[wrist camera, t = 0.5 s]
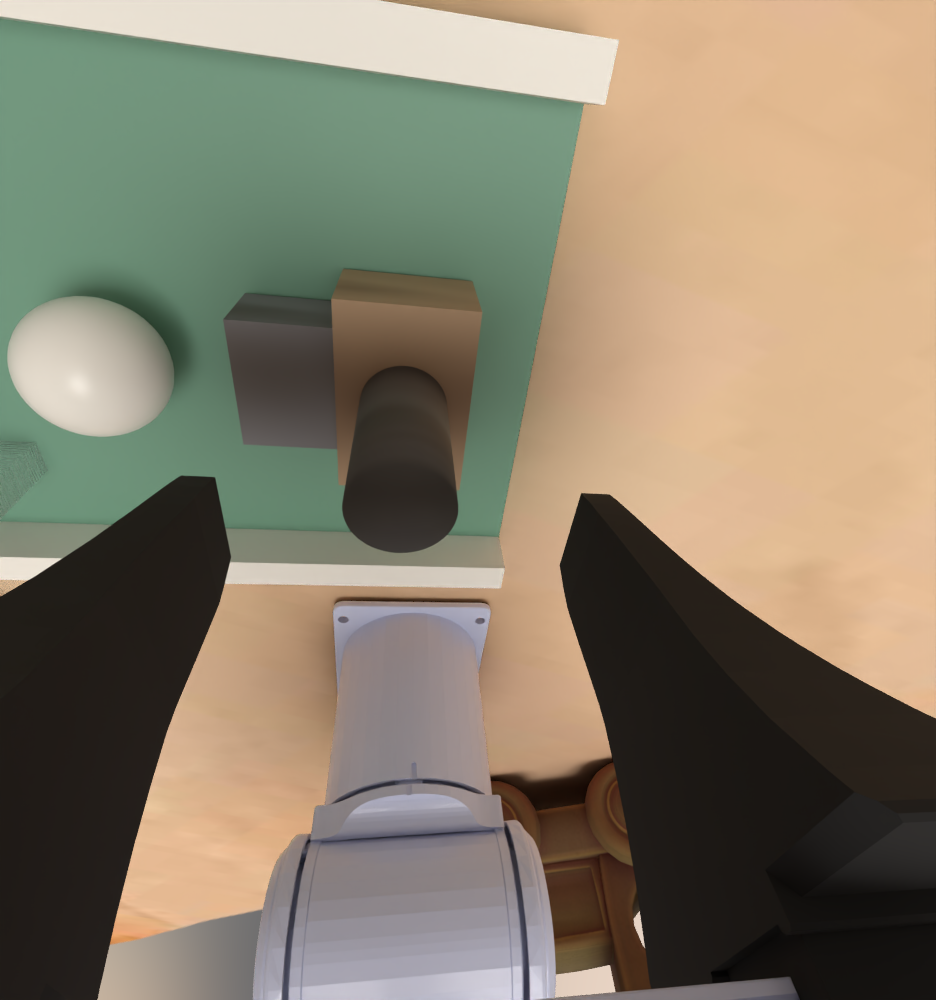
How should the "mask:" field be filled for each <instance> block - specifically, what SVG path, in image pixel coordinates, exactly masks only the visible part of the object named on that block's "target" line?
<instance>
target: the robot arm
mask: <svg viewBox="0 0 936 1000" xmlns="http://www.w3.org/2000/svg"><path fill="white" fill-rule="evenodd" d="M230 560H231V553H230V548H229V543H228V538H227V533H226V528H225V523H224V519H223V514H222V509H221V504H220V499H219V494H218V489H217V484H216V479H215V477H205V476H183V475H181V476H179V477H178V478H176V479H175V480H173V481H172V482H170V483H169V484H167V485H166V486H165V487H163V488H162V489H160V490H159V491H158V492H156V493H155V494H154V495H152V496H151V497H149V498H148V499H147V500H145V501H144V502H143V503H141V504H140V505H139V506H137V507H136V508H134V509H133V510H132V511H130V512H129V513H128V514H126V515H125V516H123V517H122V518H121V519H119V520H118V521H116V522H115V523H114V524H112V525H111V526H109V527H108V528H107V529H105V530H104V531H102V532H101V533H100V534H98V535H97V536H95V537H94V538H93V539H91V540H90V541H88V542H87V543H85V544H84V545H82V546H81V547H79V548H78V549H76V550H74V551H73V552H71V553H70V554H68V555H67V556H65V557H64V558H62V559H61V560H59V561H58V562H56V563H55V564H53V565H51V566H50V567H48V568H47V569H45V570H44V571H42V572H41V573H39V574H38V575H36V576H35V577H33V578H31V579H30V580H28V581H26V582H25V583H23V584H21V585H20V586H18V587H16V588H15V589H13V590H11V591H10V592H8V593H6V594H4V595H3V596H1V597H0V1000H97V999H98V994H99V988H100V984H101V980H102V976H103V972H104V967H105V963H106V958H107V954H108V950H109V945H110V941H111V936H112V932H113V928H114V923H115V919H116V914H117V910H118V906H119V902H120V899H121V895H122V891H123V887H124V883H125V879H126V875H127V871H128V867H129V863H130V859H131V855H132V851H133V847H134V843H135V840H136V836H137V833H138V829H139V825H140V822H141V818H142V815H143V811H144V807H145V804H146V800H147V797H148V793H149V789H150V786H151V783H152V779H153V776H154V773H155V769H156V766H157V763H158V759H159V756H160V753H161V749H162V746H163V743H164V739H165V736H166V733H167V730H168V727H169V725H170V722H171V719H172V716H173V714H174V711H175V708H176V706H177V704H178V701H179V699H180V696H181V694H182V692H183V689H184V687H185V684H186V682H187V680H188V677H189V675H190V673H191V670H192V668H193V665H194V663H195V661H196V658H197V656H198V654H199V651H200V649H201V646H202V644H203V642H204V639H205V637H206V635H207V632H208V630H209V627H210V625H211V622H212V620H213V618H214V615H215V613H216V610H217V608H218V605H219V602H220V599H221V595H222V592H223V588H224V584H225V581H226V577H227V572H228V568H229V564H230ZM560 570H561V575H562V581H563V587H564V593H565V598H566V603H567V608H568V611H569V614H570V617H571V620H572V624H573V627H574V630H575V633H576V636H577V639H578V642H579V645H580V648H581V651H582V654H583V657H584V660H585V663H586V666H587V669H588V672H589V675H590V678H591V681H592V684H593V687H594V690H595V693H596V696H597V699H598V702H599V705H600V709H601V713H602V716H603V720H604V723H605V727H606V732H607V736H608V741H609V745H610V750H611V754H612V759H613V763H614V768H615V772H616V777H617V782H618V787H619V793H620V798H621V803H622V808H623V813H624V818H625V823H626V829H627V835H628V840H629V846H630V852H631V858H632V864H633V870H634V875H635V881H636V888H637V895H638V902H639V909H640V915H641V922H642V928H643V936H644V943H645V951H646V959H647V967H648V975H649V982H650V986H651V989H648V990H636V991H625V992H615V993H603V994H592V995H580V996H570V997H559V998H555V985H556V964H555V946H554V934H553V925H552V916H551V909H550V902H549V896H548V890H547V884H546V879H545V874H544V870H543V865H542V862H541V858H540V854H539V851H538V848H537V846H536V843H535V841H534V840H533V838H532V837H531V836H530V835H529V834H528V833H527V832H526V831H525V830H524V828H523V826H522V825H521V823H520V822H518V821H517V820H509V821H504V820H503V812H502V804H501V797H500V796H499V795H492V789H491V781H490V772H489V763H488V754H487V746H486V737H485V728H484V720H483V711H482V702H481V693H480V685H479V676H478V673H479V668H480V663H481V658H482V654H483V649H484V644H485V639H486V635H487V630H488V625H489V620H490V615H491V611H490V607H489V605H487V604H486V603H456V602H383V601H340V602H337V603H336V604H335V605H334V608H333V623H334V640H335V657H336V675H337V692H338V699H337V708H336V716H335V724H334V732H333V740H332V748H331V757H330V765H329V773H328V781H327V789H326V797H325V805H320V806H316V807H315V810H314V817H313V824H312V832H311V834H298V835H296V836H295V837H294V838H293V839H292V841H291V842H290V844H289V846H288V847H287V848H286V849H285V850H284V851H283V852H282V854H281V855H280V856H279V858H278V859H277V861H276V864H275V866H274V869H273V871H272V874H271V878H270V881H269V885H268V889H267V893H266V897H265V902H264V907H263V912H262V917H261V923H260V930H259V937H258V943H257V951H256V960H255V971H254V985H253V1000H936V718H933V717H931V716H929V715H927V714H925V713H923V712H921V711H919V710H917V709H915V708H913V707H911V706H909V705H907V704H905V703H903V702H901V701H899V700H897V699H895V698H893V697H891V696H889V695H887V694H885V693H883V692H882V691H880V690H878V689H876V688H874V687H872V686H870V685H868V684H866V683H864V682H863V681H861V680H859V679H857V678H855V677H854V676H852V675H850V674H848V673H846V672H844V671H843V670H841V669H839V668H837V667H836V666H834V665H832V664H831V663H829V662H827V661H826V660H824V659H822V658H821V657H819V656H817V655H816V654H814V653H812V652H811V651H809V650H807V649H806V648H804V647H802V646H801V645H799V644H797V643H796V642H794V641H793V640H791V639H789V638H788V637H786V636H785V635H783V634H782V633H780V632H779V631H777V630H776V629H774V628H773V627H771V626H770V625H768V624H767V623H765V622H764V621H762V620H761V619H760V618H758V617H757V616H755V615H754V614H752V613H751V612H749V611H748V610H747V609H745V608H744V607H742V606H741V605H740V604H738V603H737V602H736V601H734V600H733V599H731V598H730V597H729V596H727V595H726V594H725V593H724V592H722V591H721V590H720V589H719V588H717V587H716V586H715V585H714V584H712V583H711V582H710V581H709V580H707V579H706V578H705V577H703V576H702V575H701V574H700V573H699V572H697V571H696V570H695V569H694V568H693V567H691V566H690V565H689V564H688V563H687V562H685V561H684V560H683V559H682V558H681V557H680V556H678V555H677V554H676V553H675V552H674V551H673V550H672V549H670V548H669V547H668V546H667V545H666V544H665V543H664V542H663V541H661V540H660V539H659V538H658V537H657V536H656V535H655V534H654V533H653V532H651V531H650V530H649V529H648V528H647V527H646V526H645V525H644V524H643V523H642V522H640V521H639V520H638V519H637V518H636V517H635V516H634V515H633V514H632V513H631V512H629V511H628V510H627V509H626V508H625V507H624V506H623V505H622V504H620V503H619V502H618V501H617V500H616V499H614V498H613V497H612V496H611V495H608V494H586V493H581V496H580V499H579V503H578V506H577V509H576V513H575V516H574V519H573V523H572V526H571V529H570V533H569V536H568V539H567V543H566V546H565V550H564V553H563V556H562V560H561V563H560ZM341 616H345V617H341Z"/></svg>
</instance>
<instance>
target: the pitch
mask: <svg viewBox="0 0 936 1000" xmlns="http://www.w3.org/2000/svg"><path fill="white" fill-rule="evenodd" d="M618 43H619V40H616V39H610V38H604V37H598V36H592V35H586V34H580V33H574V32H568V31H562V30H555V29H549V28H543V27H537V26H531V25H525V24H519V23H513V22H507V21H501V20H495V19H489V18H483V17H477V16H471V15H465V14H459V13H453V12H446V11H440V10H434V9H428V8H422V7H416V6H410V5H404V4H398V3H392V2H386V1H380V0H0V441H18V442H36V443H37V445H38V448H39V450H40V452H41V455H42V457H43V459H44V461H45V464H46V466H47V468H48V471H47V472H46V473H45V474H44V475H43V476H42V477H41V478H40V479H39V480H38V481H37V482H36V483H35V484H34V485H33V486H32V487H31V488H30V489H29V490H28V492H27V493H26V494H25V495H24V496H23V497H22V498H21V499H20V500H19V501H18V502H17V503H16V504H15V505H14V506H13V507H12V508H11V509H10V510H9V511H8V512H7V513H6V514H5V515H4V516H3V517H2V518H1V519H0V580H30V579H31V578H33V577H35V576H36V575H38V574H39V573H41V572H42V571H44V570H45V569H47V568H48V567H50V566H51V565H53V564H55V563H56V562H58V561H59V560H61V559H62V558H64V557H65V556H67V555H68V554H70V553H71V552H73V551H74V550H76V549H78V548H79V547H81V546H82V545H84V544H85V543H87V542H88V541H90V540H91V539H93V538H94V537H95V536H97V535H98V534H100V533H101V532H102V531H104V530H105V529H107V528H108V527H109V526H111V525H112V524H114V523H115V522H116V521H118V520H119V519H121V518H122V517H123V516H125V515H126V514H128V513H129V512H130V511H132V510H133V509H134V508H136V507H137V506H139V505H140V504H141V503H143V502H144V501H145V500H147V499H148V498H149V497H151V496H152V495H154V494H155V493H156V492H158V491H159V490H160V489H162V488H163V487H165V486H166V485H167V484H169V483H170V482H172V481H173V480H175V479H176V478H178V477H179V476H181V475H183V476H205V477H215V479H216V484H217V489H218V494H219V499H220V504H221V509H222V514H223V519H224V523H225V528H226V533H227V538H228V543H229V548H230V553H231V560H230V564H229V568H228V572H227V577H226V581H225V584H275V585H333V586H390V587H448V588H501V584H502V580H503V575H504V570H505V566H504V561H503V556H502V551H501V546H500V541H499V533H500V528H501V523H502V517H503V512H504V507H505V502H506V497H507V492H508V487H509V482H510V477H511V472H512V467H513V461H514V456H515V451H516V446H517V441H518V436H519V431H520V426H521V421H522V416H523V411H524V406H525V400H526V395H527V390H528V385H529V380H530V375H531V370H532V365H533V360H534V355H535V350H536V344H537V339H538V334H539V329H540V324H541V319H542V314H543V309H544V304H545V299H546V294H547V289H548V283H549V278H550V273H551V268H552V263H553V258H554V253H555V248H556V243H557V238H558V233H559V227H560V222H561V217H562V212H563V207H564V202H565V197H566V192H567V187H568V182H569V177H570V171H571V166H572V161H573V156H574V151H575V146H576V141H577V136H578V131H579V126H580V121H581V116H582V110H583V105H584V104H594V105H605V103H606V98H607V94H608V89H609V84H610V80H611V75H612V71H613V66H614V61H615V57H616V52H617V47H618ZM343 269H351V270H362V271H372V272H382V273H393V274H403V275H413V276H424V277H434V278H444V279H455V280H465V281H472V282H473V285H474V288H475V291H476V294H477V297H478V300H479V303H480V306H481V309H482V319H481V327H480V335H479V342H478V350H477V358H476V366H475V373H474V381H473V389H472V397H471V404H470V412H469V420H468V428H467V436H466V443H465V451H464V459H463V467H462V474H461V482H460V490H457V498H458V516H457V520H456V522H455V525H454V526H453V528H452V530H451V531H450V532H449V533H448V535H447V536H445V537H444V538H443V539H442V540H441V541H439V542H438V543H436V544H435V545H433V546H431V547H428V548H426V549H423V550H420V551H415V552H409V553H392V552H386V551H382V550H378V549H376V548H373V547H371V546H369V545H367V544H365V543H364V542H362V541H361V540H359V539H358V538H357V537H356V536H355V535H354V534H353V533H352V532H351V531H350V529H349V528H348V526H347V525H346V522H345V520H344V517H343V512H342V501H343V496H344V490H345V485H339V481H338V456H337V449H319V448H300V447H280V446H261V445H243V439H242V433H241V427H240V421H239V415H238V408H237V402H236V396H235V390H234V384H233V378H232V372H231V365H230V359H229V353H228V347H227V341H226V335H225V329H224V322H223V319H224V318H225V316H226V315H227V314H228V313H229V312H230V310H231V309H232V308H233V307H234V306H235V304H236V303H237V302H238V301H239V300H240V298H241V297H242V296H243V295H244V294H245V293H248V294H259V295H271V296H282V297H293V298H305V299H316V300H327V301H331V298H332V296H333V293H334V291H335V288H336V285H337V283H338V280H339V278H340V275H341V273H342V270H343ZM70 296H89V297H97V298H102V299H105V300H109V301H112V302H115V303H117V304H120V305H122V306H124V307H126V308H128V309H130V310H132V311H134V312H135V313H137V314H138V315H140V316H141V317H142V318H144V319H145V320H146V321H147V322H148V323H149V324H150V325H152V327H153V328H154V329H155V330H156V331H157V332H158V333H159V335H160V336H161V337H162V339H163V341H164V342H165V344H166V346H167V348H168V350H169V352H170V355H171V358H172V361H173V366H174V386H173V390H172V394H171V397H170V399H169V401H168V403H167V405H166V406H165V408H164V409H163V411H162V412H161V413H160V414H159V415H158V416H157V417H156V418H155V419H154V420H153V421H151V422H150V423H149V424H147V425H145V426H144V427H142V428H140V429H138V430H135V431H133V432H130V433H127V434H123V435H117V436H109V437H97V436H87V435H81V434H77V433H74V432H70V431H68V430H65V429H62V428H60V427H58V426H56V425H54V424H52V423H50V422H49V421H47V420H45V419H44V418H43V417H41V416H40V415H38V414H37V413H36V412H35V411H34V410H33V409H32V408H31V407H30V406H29V405H28V404H27V403H26V402H25V401H24V400H23V398H22V397H21V396H20V394H19V393H18V391H17V390H16V388H15V386H14V384H13V381H12V379H11V376H10V373H9V368H8V362H7V351H8V344H9V341H10V338H11V336H12V333H13V331H14V329H15V327H16V326H17V324H18V323H19V322H20V320H21V319H22V318H23V317H24V316H25V315H26V314H27V313H29V312H30V311H31V310H33V309H34V308H36V307H37V306H39V305H41V304H44V303H46V302H48V301H51V300H54V299H58V298H62V297H70Z"/></svg>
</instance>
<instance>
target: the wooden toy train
mask: <svg viewBox="0 0 936 1000" xmlns="http://www.w3.org/2000/svg"><path fill="white" fill-rule="evenodd" d="M491 789H492V795H499V796H500V797H501V804H502V812H503V820H504V821H509V820H517V821H518V822H520V823H521V825H522V826H523V828H524V830H525V831H526V832H527V833H528V834H529V835H530V836H531V837H532V838H533V840H534V841H535V843H536V846H537V848H538V851H539V854H540V858H541V862H542V865H543V870H544V874H545V879H546V884H547V890H548V896H549V902H550V909H551V916H552V925H553V934H554V946H555V964H556V974H562V973H569V972H577V971H582V970H587V969H592V968H597V967H602V966H606V965H610V966H611V971H612V976H613V981H614V986H615V991H616V992H625V991H636V990H648V989H651V986H650V982H649V975H648V967H647V959H646V951H645V948H644V947H643V945H642V943H641V941H640V938H639V936H638V934H637V932H636V929H635V927H634V920H633V919H634V917H635V916H636V915H637V913H638V912H639V911H640V909H639V902H638V895H637V888H636V881H635V875H634V870H633V864H632V858H631V852H630V846H629V840H628V835H627V829H626V823H625V818H624V813H623V808H622V803H621V798H620V793H619V787H618V782H617V777H616V772H615V768H614V763H610V764H607V765H606V766H604V767H603V768H602V769H601V770H599V771H598V772H597V773H596V774H595V775H594V777H593V779H592V780H591V782H590V784H589V785H588V789H587V794H586V798H585V803H583V804H577V805H570V806H564V807H557V808H551V809H544V810H538V811H536V810H535V808H534V806H533V805H532V804H531V802H530V801H529V799H528V798H527V796H526V795H525V794H523V793H522V792H521V791H520V790H518V789H517V788H516V787H514V786H512V785H510V784H507V783H504V782H501V781H491Z"/></svg>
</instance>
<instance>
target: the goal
mask: <svg viewBox="0 0 936 1000" xmlns="http://www.w3.org/2000/svg"><path fill="white" fill-rule="evenodd" d="M47 471H48V468H47V466H46V464H45V461H44V459H43V457H42V455H41V452H40V450H39V448H38V445H37V443H36V442H18V441H0V519H1V518H2V517H3V516H4V515H5V514H6V513H7V512H8V511H9V510H10V509H11V508H12V507H13V506H14V505H15V504H16V503H17V502H18V501H19V500H20V499H21V498H22V497H23V496H24V495H25V494H26V493H27V492H28V490H29V489H30V488H31V487H32V486H33V485H34V484H35V483H36V482H37V481H38V480H39V479H40V478H41V477H42V476H43V475H44V474H45V473H46V472H47Z"/></svg>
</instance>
